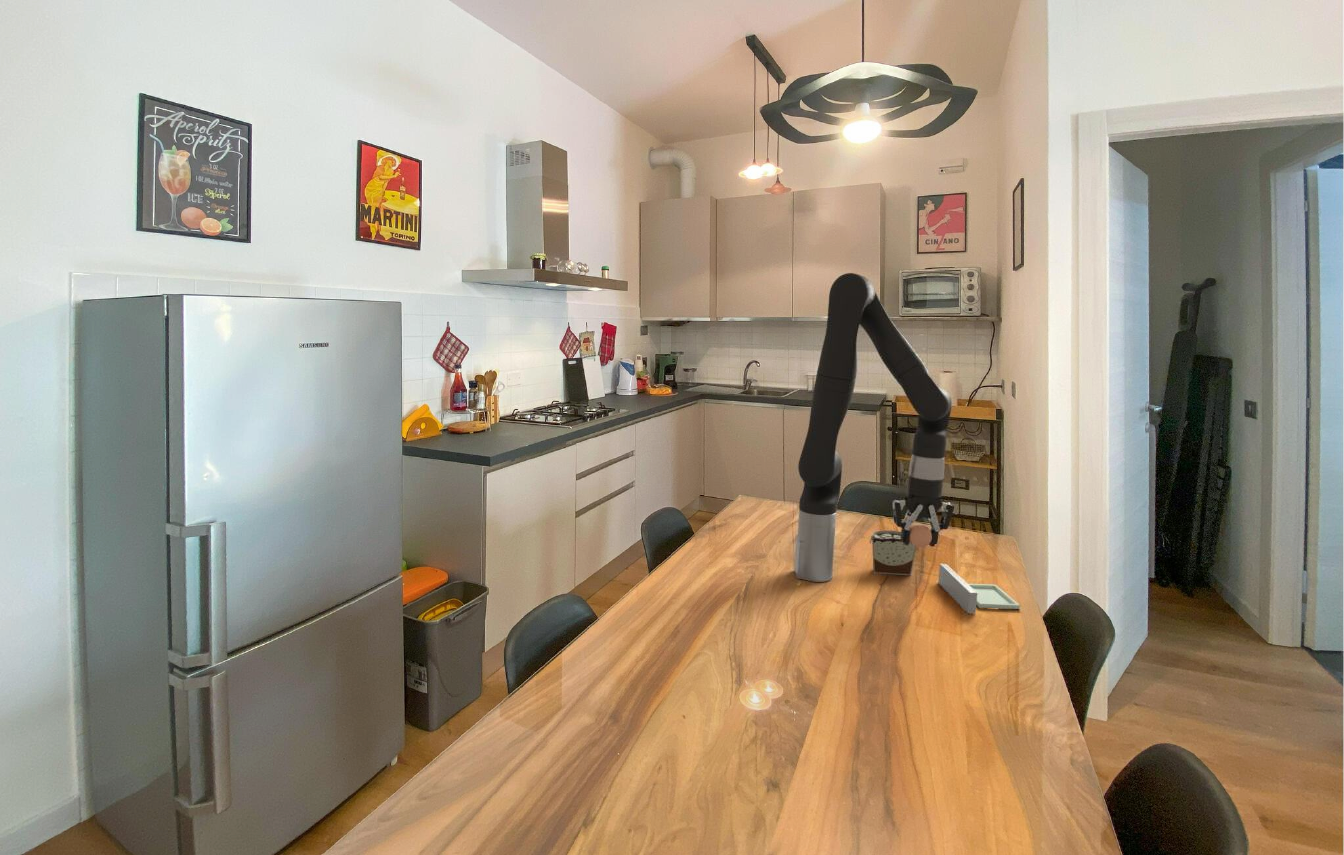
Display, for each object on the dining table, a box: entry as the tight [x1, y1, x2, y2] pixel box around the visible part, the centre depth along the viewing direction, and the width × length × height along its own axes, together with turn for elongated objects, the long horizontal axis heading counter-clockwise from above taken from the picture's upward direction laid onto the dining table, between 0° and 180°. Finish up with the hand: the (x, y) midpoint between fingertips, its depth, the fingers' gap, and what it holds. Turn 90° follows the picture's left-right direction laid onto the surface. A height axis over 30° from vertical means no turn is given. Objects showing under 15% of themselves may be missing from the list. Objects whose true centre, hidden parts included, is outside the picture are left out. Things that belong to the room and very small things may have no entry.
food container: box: [869, 529, 917, 576], centre depth 171 cm, size 12×6×10 cm, turn 84°
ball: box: [909, 523, 932, 549], centre depth 153 cm, size 6×6×6 cm
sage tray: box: [967, 583, 1021, 610], centre depth 155 cm, size 9×12×1 cm
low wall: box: [937, 563, 977, 614], centre depth 155 cm, size 2×18×5 cm, turn 179°
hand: (918, 544), depth 153 cm, fingers closed on ball, 5 cm apart
